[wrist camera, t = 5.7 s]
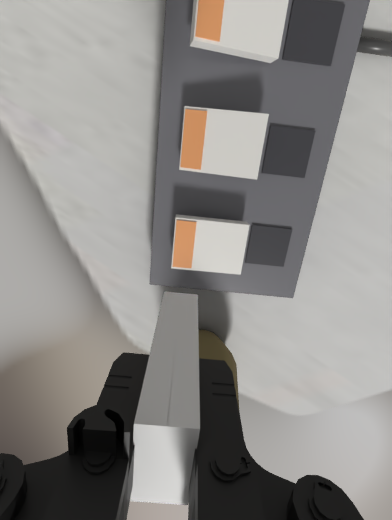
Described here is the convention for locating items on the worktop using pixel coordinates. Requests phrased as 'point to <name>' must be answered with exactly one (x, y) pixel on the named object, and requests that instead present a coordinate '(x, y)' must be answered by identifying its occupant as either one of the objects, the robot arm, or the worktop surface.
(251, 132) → the middle rocker
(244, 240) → the rocker
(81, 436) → the robot arm
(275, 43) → the rocker
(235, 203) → the power strip
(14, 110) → the worktop surface
